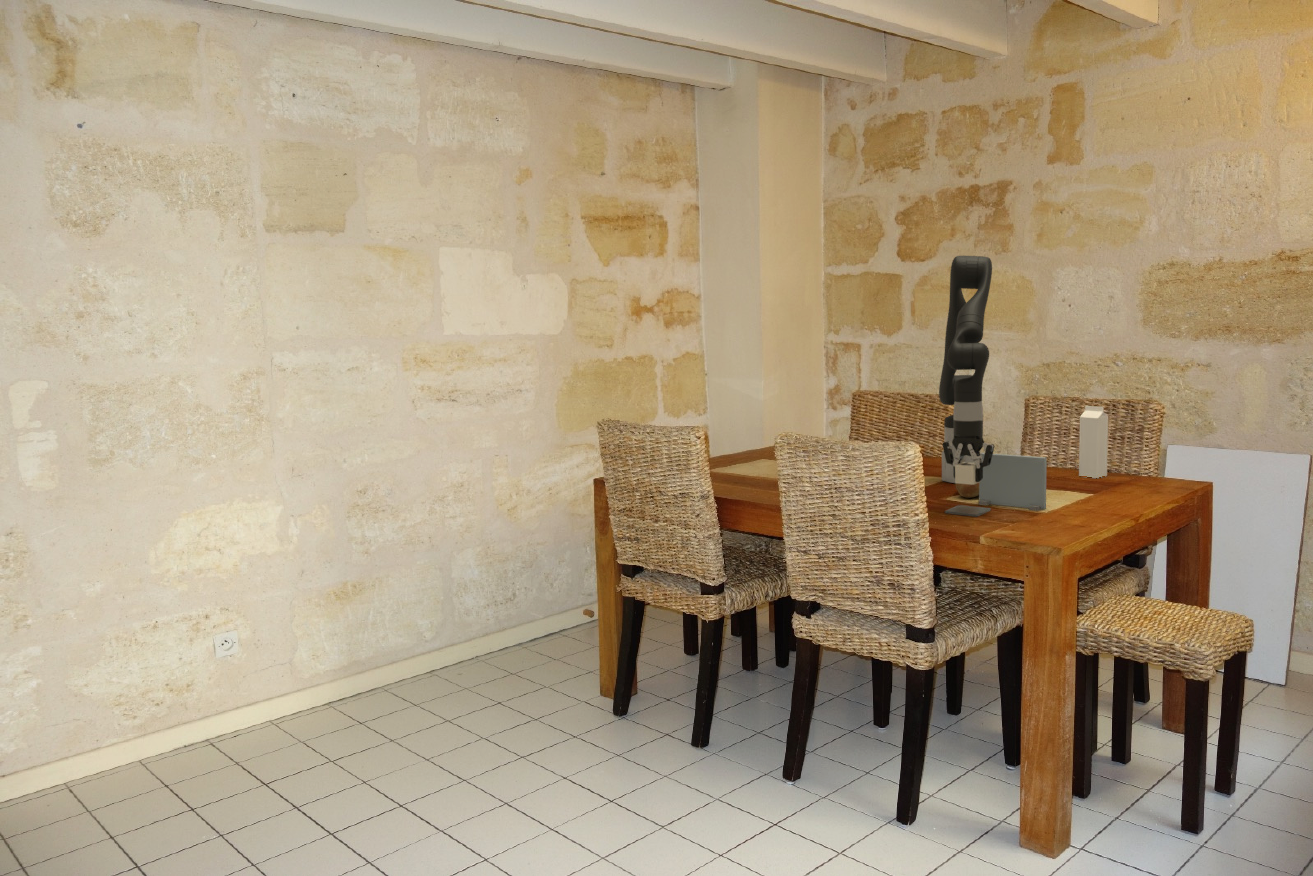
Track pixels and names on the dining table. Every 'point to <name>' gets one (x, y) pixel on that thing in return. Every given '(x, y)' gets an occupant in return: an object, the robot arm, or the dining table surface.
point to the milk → (1093, 442)
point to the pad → (968, 510)
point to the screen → (1014, 481)
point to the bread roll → (968, 490)
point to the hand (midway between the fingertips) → (968, 480)
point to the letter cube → (965, 473)
